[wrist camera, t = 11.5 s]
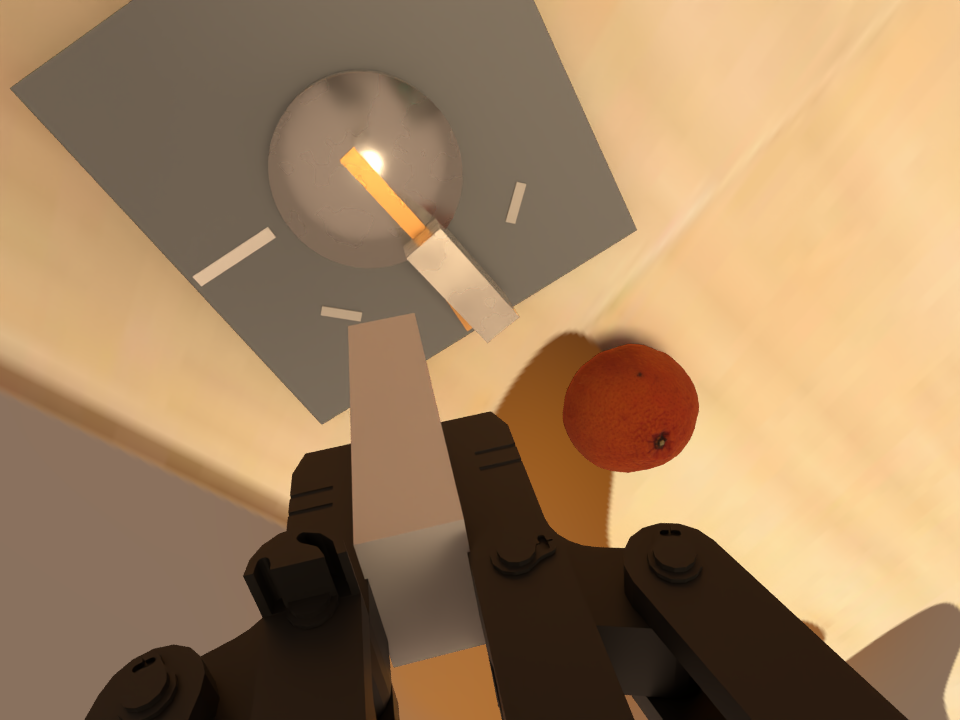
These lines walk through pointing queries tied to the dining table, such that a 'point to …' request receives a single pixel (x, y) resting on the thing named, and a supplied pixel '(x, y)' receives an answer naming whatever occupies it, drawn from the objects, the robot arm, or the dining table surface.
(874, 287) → the dining table surface
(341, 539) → the robot arm
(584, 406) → the fruit
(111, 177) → the panel
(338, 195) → the dial
